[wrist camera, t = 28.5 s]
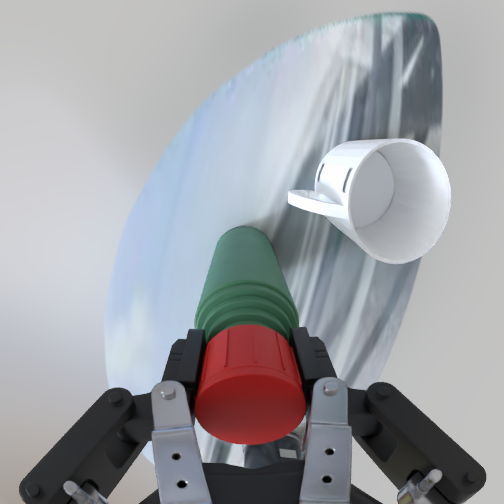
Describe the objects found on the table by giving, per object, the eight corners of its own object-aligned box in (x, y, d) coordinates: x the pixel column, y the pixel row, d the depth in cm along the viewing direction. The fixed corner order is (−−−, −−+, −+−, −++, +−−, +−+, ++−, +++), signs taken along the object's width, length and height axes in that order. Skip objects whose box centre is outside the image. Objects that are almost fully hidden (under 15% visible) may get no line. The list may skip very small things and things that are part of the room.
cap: (193, 330, 12) (180, 381, 9) (288, 316, 12) (303, 364, 9) (214, 397, 13) (210, 448, 10) (296, 385, 13) (308, 436, 10)
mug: (400, 150, 26) (457, 154, 17) (388, 234, 29) (437, 266, 20) (287, 129, 25) (311, 117, 16) (278, 223, 28) (295, 258, 19)
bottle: (267, 284, 30) (303, 444, 11) (212, 277, 29) (176, 435, 10) (277, 230, 28) (342, 347, 9) (218, 222, 28) (175, 331, 9)
